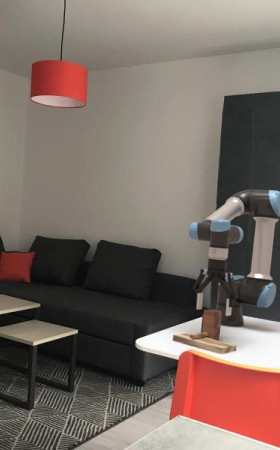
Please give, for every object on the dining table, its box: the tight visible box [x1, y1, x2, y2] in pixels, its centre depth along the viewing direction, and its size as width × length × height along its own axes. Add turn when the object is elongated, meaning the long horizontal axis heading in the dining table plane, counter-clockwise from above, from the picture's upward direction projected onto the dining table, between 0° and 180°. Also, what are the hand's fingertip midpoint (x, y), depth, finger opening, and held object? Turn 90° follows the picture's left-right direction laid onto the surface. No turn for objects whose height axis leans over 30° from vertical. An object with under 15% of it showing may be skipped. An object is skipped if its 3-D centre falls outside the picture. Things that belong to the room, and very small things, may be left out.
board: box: [172, 332, 237, 355], centre depth 192 cm, size 10×22×2 cm, turn 49°
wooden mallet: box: [190, 308, 222, 341], centre depth 197 cm, size 16×4×12 cm, turn 139°
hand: (213, 312), depth 201 cm, fingers open, 13 cm apart
